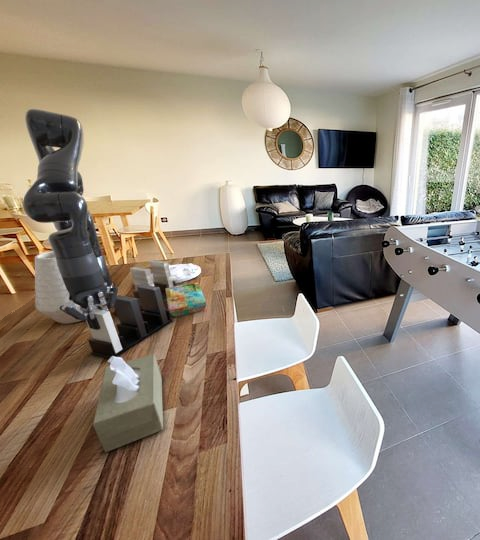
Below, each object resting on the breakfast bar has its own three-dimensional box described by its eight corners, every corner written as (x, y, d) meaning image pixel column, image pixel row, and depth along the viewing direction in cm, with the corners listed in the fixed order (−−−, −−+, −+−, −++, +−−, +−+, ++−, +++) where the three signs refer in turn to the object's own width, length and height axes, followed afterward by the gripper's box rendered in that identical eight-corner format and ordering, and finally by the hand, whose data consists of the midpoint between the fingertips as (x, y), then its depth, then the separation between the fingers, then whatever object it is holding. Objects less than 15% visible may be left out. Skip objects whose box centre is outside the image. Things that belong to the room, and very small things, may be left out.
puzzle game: (168, 308, 99) (164, 286, 114) (170, 319, 101) (167, 296, 116) (205, 299, 106) (197, 280, 121) (207, 310, 107) (199, 290, 122)
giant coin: (209, 274, 138) (208, 268, 137) (166, 289, 122) (165, 283, 121) (186, 265, 147) (185, 259, 146) (143, 277, 131) (141, 271, 130)
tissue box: (115, 391, 71) (94, 339, 65) (161, 376, 76) (147, 327, 70) (105, 454, 57) (78, 395, 51) (163, 431, 62) (145, 374, 56)
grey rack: (112, 359, 82) (96, 318, 76) (91, 355, 83) (75, 313, 78) (173, 321, 100) (164, 285, 95) (155, 317, 102) (145, 282, 97)
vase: (33, 320, 98) (3, 257, 89) (94, 299, 112) (74, 243, 103) (58, 335, 91) (28, 268, 82) (120, 310, 105) (101, 251, 96)
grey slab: (131, 316, 102) (119, 281, 96) (114, 313, 103) (102, 278, 98) (178, 291, 121) (171, 260, 115) (163, 288, 122) (156, 258, 117)
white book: (115, 353, 83) (102, 314, 78) (96, 349, 84) (82, 310, 79) (122, 349, 84) (109, 311, 79) (104, 345, 86) (89, 307, 81)
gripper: (97, 259, 81) (115, 312, 88) (36, 278, 69) (62, 338, 76) (118, 263, 80) (135, 316, 87) (60, 283, 67) (84, 343, 74)
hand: (101, 326), depth 81 cm, fingers closed on white book, 2 cm apart
